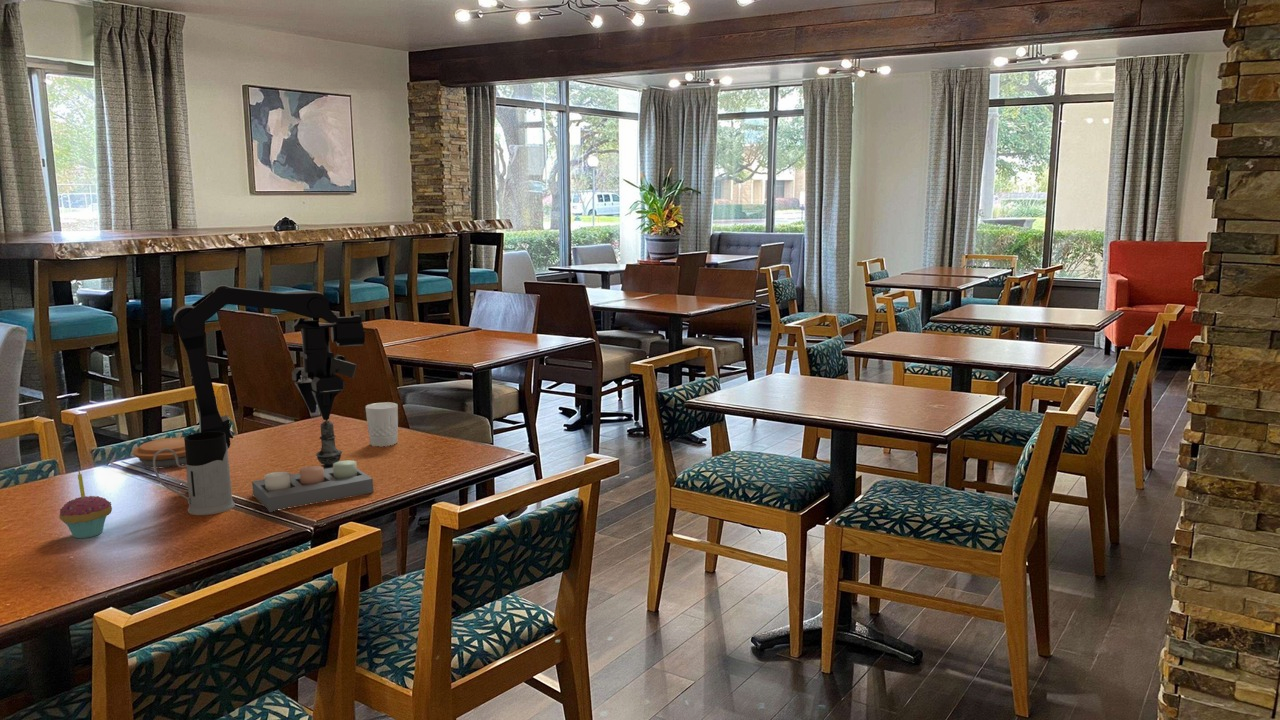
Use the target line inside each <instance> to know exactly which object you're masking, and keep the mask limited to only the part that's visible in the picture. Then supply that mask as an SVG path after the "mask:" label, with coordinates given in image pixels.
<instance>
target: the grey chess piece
mask: <svg viewBox="0 0 1280 720" xmlns="http://www.w3.org/2000/svg"><path fill="white" fill-rule="evenodd" d="M320 435H321V436H319V439H320V443H321V447H320V451H318V452H315V456H316V458H317V461H318V463H320V464H321V465H320V466H322V467H323V468H324V469H327V468H333V464H334V463H336V462H339V461H341V457H342V454H343V451H342V450H341V449H338V448H337V446H336V441H335V439H336V437H337V436H336V435H335V430H334V423H333V422H332V421H330V420H329V419H328V420H324V421H323V422H322V423H320Z"/></svg>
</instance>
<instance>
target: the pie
mask: <svg viewBox="0 0 1280 720" xmlns="http://www.w3.org/2000/svg"><path fill="white" fill-rule="evenodd" d="M184 437H185V436H184ZM184 437H182V436H181V437H179V436H178V437H168V438H167V437H166V438H160V439H154V440H151V441H148V442H145V443H143V444H142V443H141V445H140V446H139V445H138V447H135V448H134V450H133V451H132V455H133V456H135V457H136V458H137V459H138V460H139V461H140V462H141V463H142V465H144V466H145V467H146V466H148V467H147V468H151V467H153V457H154V455H155V454H156V453H157V452H158V451H159V450H161V449H165V448H167V449H171V450H173V451H174V452H175V453H176V454H177V456H178V462H179V465H181V466H183V465H182V464H184V465H186V452H185V441H184ZM155 465H156V467H166V468H169V467H168V466H174V467H178V466H177V464H176V459H175V456H174V454H173V453H172V452H171V451H168V450H165V451H162V452H160V453H159V454H158V455H157V456H156V459H155Z"/></svg>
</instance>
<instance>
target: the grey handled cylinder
mask: <svg viewBox="0 0 1280 720" xmlns="http://www.w3.org/2000/svg"><path fill="white" fill-rule="evenodd" d="M184 441H185V452H186V464H184V465H179V462H178V456H177V454H176V453H175V452H174V451H173V450H171V449H167V448H165V449H161V450H159V451H158V452H157V453H156V454H155V455H154V457H153V467H154V468H153V472H154V474H155V476H156V478H157V479H158V481H159V483H160V484H161V485H162V486H163V487H164V488H165V489H167V490H169V491H171V492H173V493H174V494H177V495H179V496H180V497H183V498H184V499H186V500H187V504H188V508H187V513H188V514H190V515H193V516H209V515H215V514H220V513H223V512H228V511H230V510H232V509H234V508H235V506H236V503H235V501H234V500H233V494H232V493H233V491H232V481H231V473H230V471H231V470H230V461H229V459H230V458H229V448H228V447H227V443H226V436H225V433H224V432H218V431H211V432H200V431H199V432H196V433H191V434H188V435H186V436H184ZM165 450H168V451H171V452H172V453H173V454H174V456H175V459H176V464H177V466H176V467H179V468H185V473H186V480H187V491H188V496H186V495H184V494H183V493H181V492H179V491H177V490H175V489H174V488H171V487H170V486H169V485H167V484H166V483H165V482H164V481H163V480H162V478H161V476H160V475H159V473H158V471H157V468H156V465H155V459H156V456H157V455H158V454H159V453H160V452H162V451H165Z"/></svg>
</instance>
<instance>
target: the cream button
mask: <svg viewBox="0 0 1280 720" xmlns="http://www.w3.org/2000/svg"><path fill="white" fill-rule="evenodd" d="M290 475H291V474H290V472H288V471H275V472H274V471H273V472H270V473H267V474H264V479H265V489H266V491H267V492H270V491H275V490H281V489H287V488H290Z"/></svg>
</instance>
